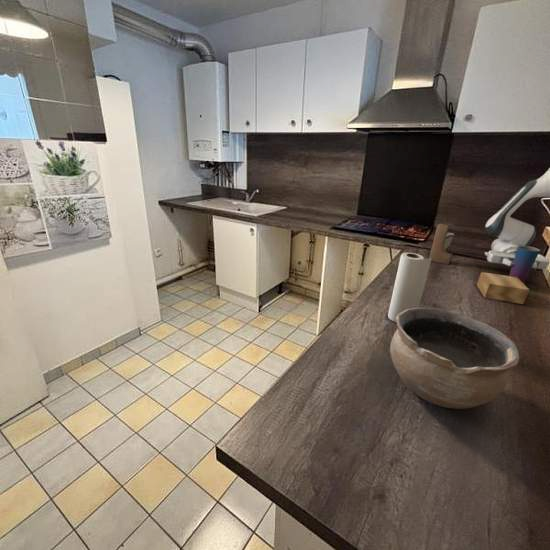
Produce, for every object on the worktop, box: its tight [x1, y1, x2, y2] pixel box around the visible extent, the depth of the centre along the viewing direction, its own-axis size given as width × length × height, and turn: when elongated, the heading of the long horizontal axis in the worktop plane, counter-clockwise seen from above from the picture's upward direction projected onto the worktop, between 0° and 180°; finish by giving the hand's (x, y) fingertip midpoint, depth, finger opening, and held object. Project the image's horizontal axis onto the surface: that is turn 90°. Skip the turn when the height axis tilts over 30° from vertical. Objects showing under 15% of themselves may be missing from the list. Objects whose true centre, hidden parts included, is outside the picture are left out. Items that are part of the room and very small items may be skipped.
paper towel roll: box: [387, 252, 432, 323], centre depth 88 cm, size 7×6×21 cm
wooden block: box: [428, 223, 453, 265], centre depth 139 cm, size 9×4×18 cm, turn 53°
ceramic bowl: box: [389, 307, 520, 410], centre depth 63 cm, size 22×22×15 cm
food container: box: [444, 232, 455, 252], centre depth 156 cm, size 12×6×10 cm, turn 130°
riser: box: [476, 271, 530, 305], centre depth 110 cm, size 12×12×6 cm
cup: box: [508, 245, 541, 285], centre depth 115 cm, size 7×7×15 cm
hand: (523, 265), depth 114 cm, fingers closed on cup, 6 cm apart
